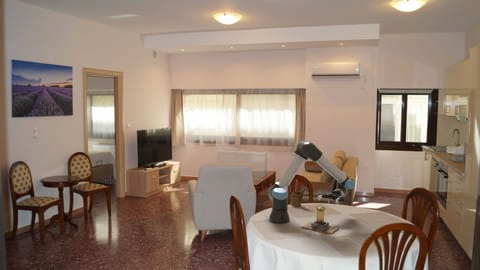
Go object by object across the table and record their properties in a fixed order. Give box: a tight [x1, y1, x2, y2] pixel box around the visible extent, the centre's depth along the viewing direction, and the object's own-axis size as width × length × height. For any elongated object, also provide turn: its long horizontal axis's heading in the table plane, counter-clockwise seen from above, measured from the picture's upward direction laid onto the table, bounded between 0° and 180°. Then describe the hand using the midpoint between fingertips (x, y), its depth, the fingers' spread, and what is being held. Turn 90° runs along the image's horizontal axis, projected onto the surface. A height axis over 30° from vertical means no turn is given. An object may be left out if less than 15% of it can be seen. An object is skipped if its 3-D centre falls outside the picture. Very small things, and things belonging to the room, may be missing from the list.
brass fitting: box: [315, 205, 326, 225], centre depth 276 cm, size 6×6×14 cm
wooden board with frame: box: [301, 219, 340, 235], centre depth 277 cm, size 22×14×4 cm, turn 57°
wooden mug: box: [289, 185, 306, 207], centre depth 340 cm, size 9×14×18 cm, turn 55°
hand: (327, 199), depth 286 cm, fingers open, 13 cm apart
